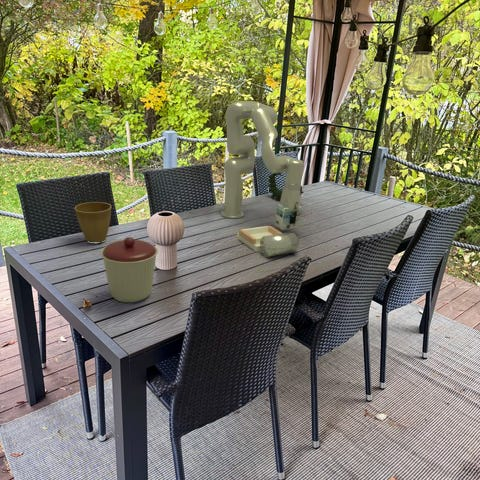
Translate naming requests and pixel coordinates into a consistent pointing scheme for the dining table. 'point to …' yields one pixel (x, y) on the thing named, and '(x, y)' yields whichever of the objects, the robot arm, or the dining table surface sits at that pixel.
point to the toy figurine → (273, 188)
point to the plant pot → (94, 220)
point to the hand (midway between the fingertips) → (287, 220)
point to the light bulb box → (286, 218)
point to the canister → (129, 268)
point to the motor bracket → (269, 240)
